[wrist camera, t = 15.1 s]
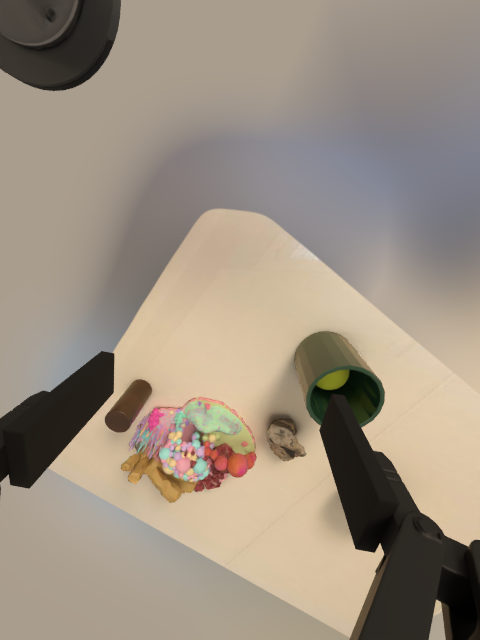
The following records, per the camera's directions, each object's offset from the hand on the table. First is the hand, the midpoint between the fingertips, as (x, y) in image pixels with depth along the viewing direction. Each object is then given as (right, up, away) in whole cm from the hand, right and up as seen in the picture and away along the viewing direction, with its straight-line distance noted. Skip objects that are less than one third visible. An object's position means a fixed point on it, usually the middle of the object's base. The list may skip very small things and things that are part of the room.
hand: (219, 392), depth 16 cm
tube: (+17, -3, +34) cm, 38 cm away
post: (-19, -10, +39) cm, 45 cm away
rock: (+10, -19, +40) cm, 46 cm away
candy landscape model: (-9, -22, +43) cm, 49 cm away
